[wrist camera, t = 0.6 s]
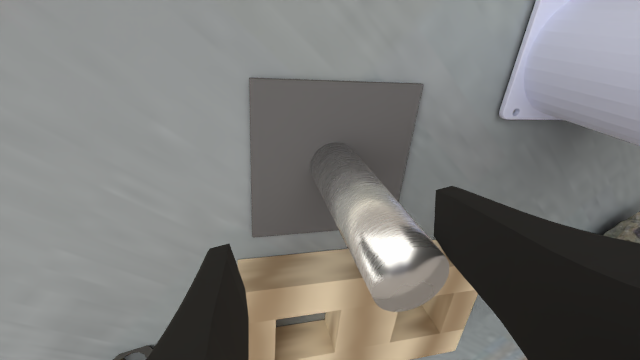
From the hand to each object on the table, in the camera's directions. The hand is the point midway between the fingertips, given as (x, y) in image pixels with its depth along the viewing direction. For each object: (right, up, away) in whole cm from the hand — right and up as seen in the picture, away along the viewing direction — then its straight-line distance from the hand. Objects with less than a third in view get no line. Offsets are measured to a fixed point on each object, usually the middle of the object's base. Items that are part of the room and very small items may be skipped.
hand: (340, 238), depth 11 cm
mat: (0, +3, +9) cm, 10 cm away
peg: (0, +3, +9) cm, 10 cm away
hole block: (+2, -7, +16) cm, 17 cm away
